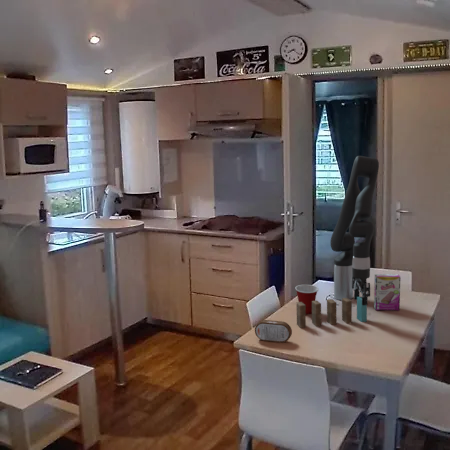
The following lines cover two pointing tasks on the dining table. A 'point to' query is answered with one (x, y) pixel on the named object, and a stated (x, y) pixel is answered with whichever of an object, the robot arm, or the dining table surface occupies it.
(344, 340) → the dining table surface
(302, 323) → the walnut domino
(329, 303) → the walnut domino
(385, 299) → the candy bar box
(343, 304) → the walnut domino
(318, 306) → the walnut domino
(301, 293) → the plastic cup
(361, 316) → the teal domino
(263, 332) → the tin
